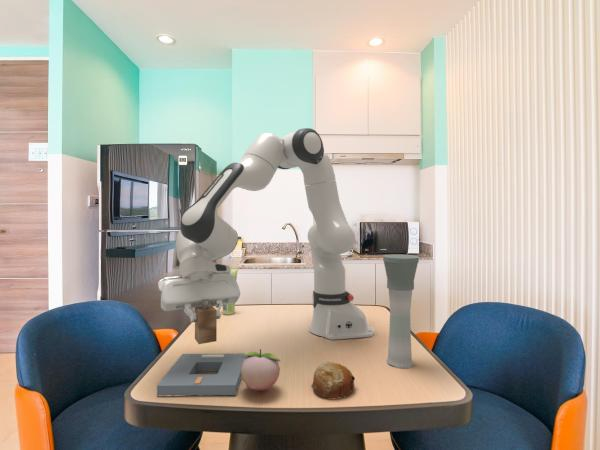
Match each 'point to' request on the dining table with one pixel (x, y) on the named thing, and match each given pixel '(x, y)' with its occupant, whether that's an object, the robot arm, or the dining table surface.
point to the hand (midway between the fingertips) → (206, 319)
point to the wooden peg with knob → (206, 323)
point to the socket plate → (203, 375)
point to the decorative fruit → (260, 370)
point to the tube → (230, 307)
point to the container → (400, 307)
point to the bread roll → (332, 380)
